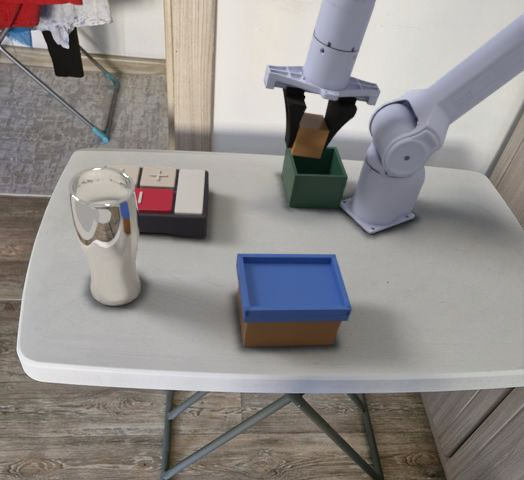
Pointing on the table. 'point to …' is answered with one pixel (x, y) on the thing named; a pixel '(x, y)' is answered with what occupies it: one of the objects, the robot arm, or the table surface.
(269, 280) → the lidded box
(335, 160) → the green storage bin
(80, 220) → the beer glass
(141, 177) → the calculator
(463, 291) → the table surface
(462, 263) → the table surface
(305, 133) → the block
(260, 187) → the table surface
